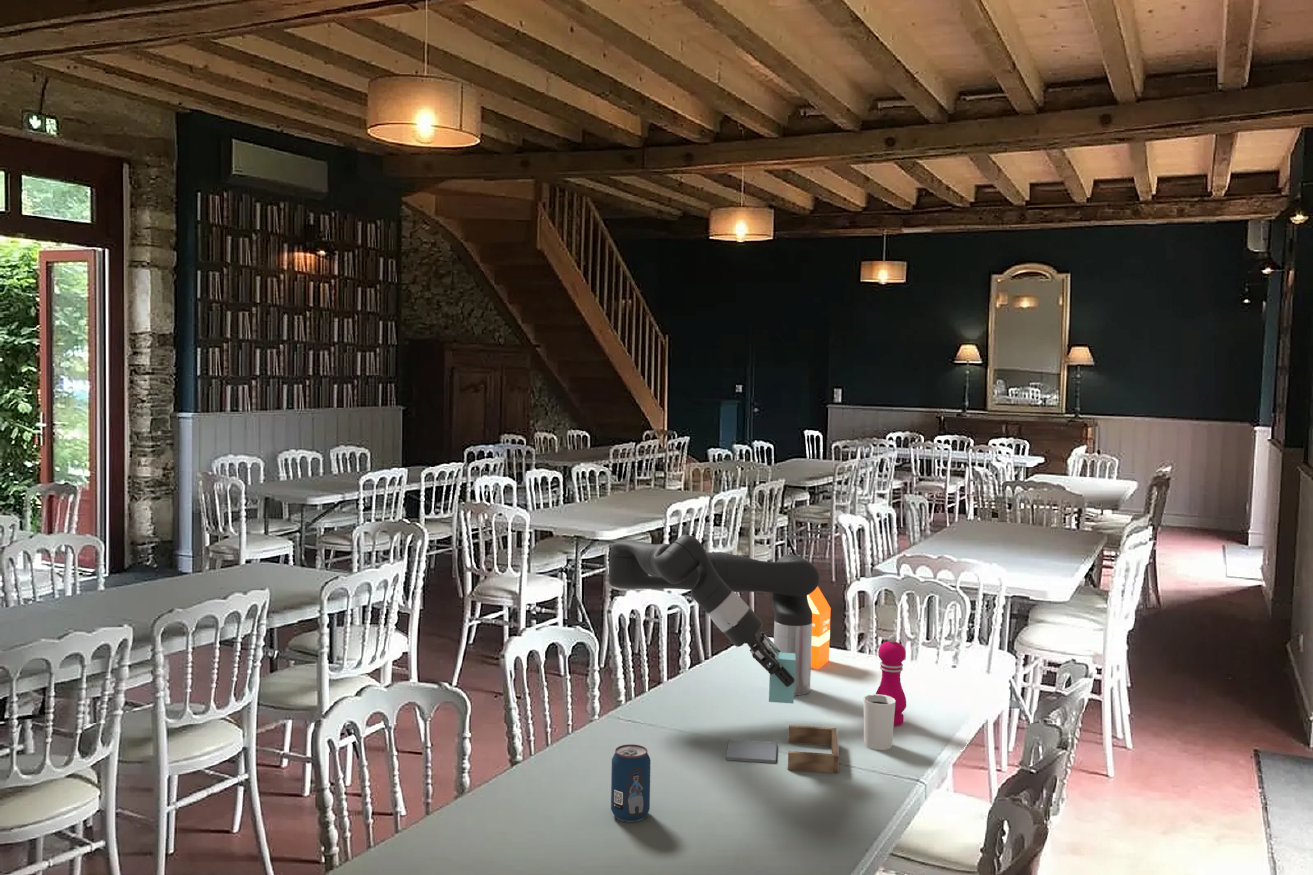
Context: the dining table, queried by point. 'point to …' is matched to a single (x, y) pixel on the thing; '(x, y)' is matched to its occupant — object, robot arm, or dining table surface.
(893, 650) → the pepper mill
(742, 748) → the slate mat
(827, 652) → the orange juice
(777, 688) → the teal block
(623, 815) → the soda can
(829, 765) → the walnut cubby
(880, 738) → the white paper cup
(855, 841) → the dining table surface
